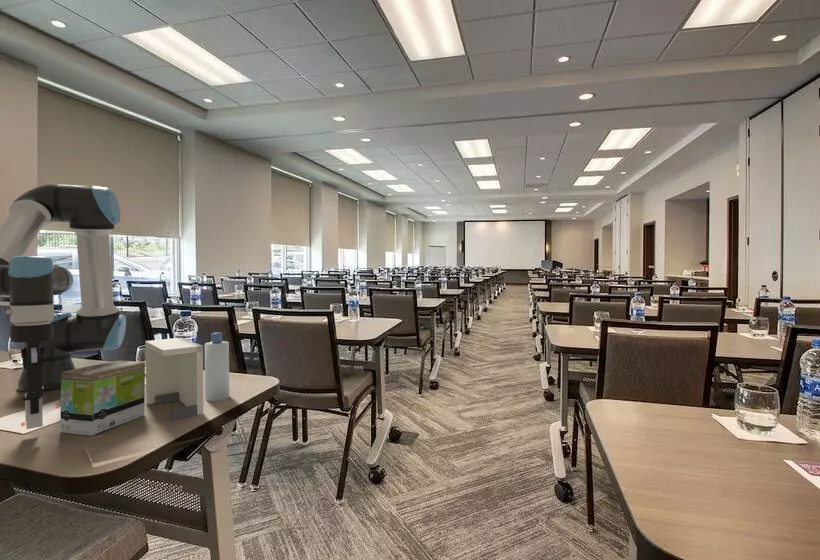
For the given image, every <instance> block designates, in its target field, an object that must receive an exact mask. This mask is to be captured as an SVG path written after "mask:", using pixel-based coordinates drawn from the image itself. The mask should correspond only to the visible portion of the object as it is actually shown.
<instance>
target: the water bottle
mask: <svg viewBox="0 0 820 560" xmlns="http://www.w3.org/2000/svg"><path fill="white" fill-rule="evenodd" d="M229 345H230V343H229V341H226V340H225V341H224V340H223V332H219V331H218V332H211V341H210V342H205V343H204V394H205V395H204V396H205V397H204V398H205V401H206V400H208V401H207V402H211V401H215V402H221V401H220V400H222V401H225V399H226V400H228V399H229V398H230V346H229ZM227 398H228V399H227Z"/></svg>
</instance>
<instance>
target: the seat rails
mask: <svg viewBox="0 0 820 560" xmlns="http://www.w3.org/2000/svg"><path fill="white" fill-rule="evenodd" d="M175 401H180V400H179V393H178V392H175V393H169V394H163V395H158V396H155V403H154V404H155V405H159V404H164V403H169V402H175ZM195 415H196V416H198V415H197V405H191V406H186V405H185V406H182V407H177V408H172V409H170V420H171V421H176V420H182V419H186V417H187V418H190V417H195Z"/></svg>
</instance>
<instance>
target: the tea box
mask: <svg viewBox="0 0 820 560" xmlns="http://www.w3.org/2000/svg"><path fill="white" fill-rule="evenodd" d="M145 402H146V361H145V362H143V361H131V360H112V361H105V362H103V363H99V364H98V363H97V364H92V365H88V366H84V367H80V368H76V369H74V370H69V371H64V372H62V373H61V388H60V420H59V421H60V422H59V423H60V425H59V432H60V433H63V434H70V435H81V436H91V437H93V436H96V435H97V434H99V433H102V432H105V431H106V430H109V429H112V428H114V427H117V426H121V425H122V424H126V423H128V422H131V421H133V420H136V419H138V418H141V417H143V416H145V407H146V406H145V404H146V403H145Z"/></svg>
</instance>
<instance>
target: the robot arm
mask: <svg viewBox="0 0 820 560" xmlns="http://www.w3.org/2000/svg"><path fill="white" fill-rule="evenodd" d="M8 212H9V213H8V214H9V215H8V216H7V217H6V218H5V220H4V221H3V223H1V225H0V297H8V296H9V308H10V309H6V312H5V314H6V315H9V319H10V320H9V322H10V323H11V324H13V325H10V326H9V339H10V342H12V343H16V344H17V343H24V348H21V349H20V356H21V359H22V367H23V368H22V370H21V374H20V376H19V378H18V381H17V391H19V392H25V393H24V396H25V397H22V402H24V403H25V404H24V405H25V407H24V408H25V412H24V413H25V423H26V430H31V429H35V428H41V427H44V425H43V420H44V419H43V418H44V417H43V416H44V415H43V395H44V393H43V392H44V391H51V390H58V389H61V373H62V372H64V371H69V370H74V369H77V368H76V366H75V364H74V361H73V355H72V354H73V352H74V353H75V352H77V353H78V352H93V351H96V352H97V351H108V350H115V349H118V348H120V346H121V345H122V344H123V341H124V337H125V336H126V335H125V334H126V327H127V318H126V315H124V314H122V313H121V314H120V308H118V307H117V306H116V305H115V304H114V292H113V291H114V290H113V275H112V272H113V271H112V259H111V257H112V255H111V242H110V241H111V238H110V234H111V233H112V232H113V231H114V230H115V226H116V225H119V223H120V222H121V208H120V204H119V201H118V198H117V195H116V194H115V192H114V191H113V189H111V188H109V187H103V186H96V185H78V184H61V183H48V184H44V185H40V186H37V187H34V188H32V189H30V190H28V191H26V192H24V193H22V194H21V195H19V196H18V197H17V198H16V199H14V201H13V202H12V203H11V205H10V206H9V208H8ZM57 222H58V223H60V222H61V223H69V230H71V231H72V232H74V233H75V234H76V246H77V248H76V249H77V250H76V251H77V261H78V273H79V274H78V275H79V276H78V277H79V289H80V300H81V301H80V303H81V305H80V306H81V307H80V308H79V309H78V310H77V311H76V313H75V316H73V314H72V312H70V311H67V312H66V311H65V312H57V313H55V311H54V310H55V309H54V308H55V307H54V306H55V305H54V296H59V295H62V294H64V293H66V292H67V291H69V290H70V289H71V288H72V286H73V284H74V276H73V274H72V273H71V271H70V270H69V269H68V268H66V267H64V266H61V265H58V264H53V259H52V258H51V257H49V256H39V255H37V256H36V255H25V254H26V253H27V251H28V250H29V248H30V246H31V245H32V244H33V242H34V240H35V239H36V237H37V236H38V234H39V232H40V231H41V229H45V228H46V227H47V226H49V225H50V223H57Z"/></svg>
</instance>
